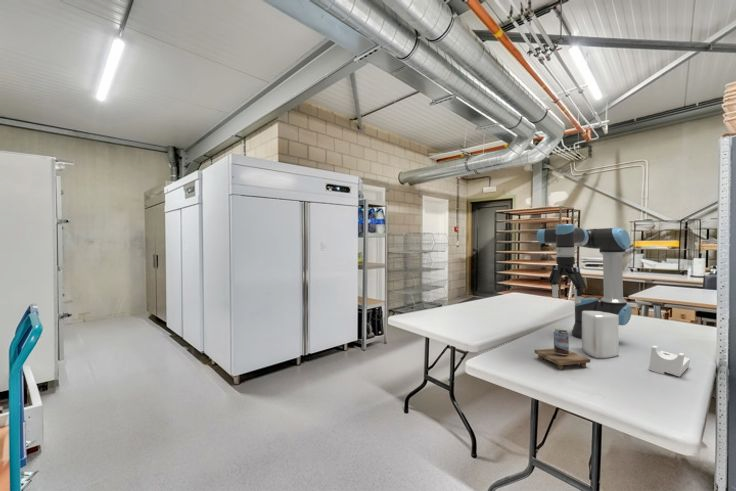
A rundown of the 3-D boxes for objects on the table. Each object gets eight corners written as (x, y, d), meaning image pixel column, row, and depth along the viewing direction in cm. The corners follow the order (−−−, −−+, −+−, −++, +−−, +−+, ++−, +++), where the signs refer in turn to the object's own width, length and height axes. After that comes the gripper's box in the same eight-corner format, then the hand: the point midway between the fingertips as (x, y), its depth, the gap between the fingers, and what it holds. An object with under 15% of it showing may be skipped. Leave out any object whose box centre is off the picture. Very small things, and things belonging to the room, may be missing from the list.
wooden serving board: (534, 357, 156) (534, 349, 156) (562, 355, 159) (562, 347, 159) (559, 370, 141) (559, 362, 141) (590, 367, 144) (590, 359, 143)
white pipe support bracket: (679, 379, 132) (682, 355, 131) (648, 369, 140) (651, 347, 139) (688, 369, 143) (691, 346, 142) (659, 360, 151) (662, 339, 150)
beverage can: (556, 356, 147) (556, 330, 147) (551, 351, 154) (551, 326, 154) (571, 357, 146) (571, 331, 146) (565, 352, 153) (565, 327, 153)
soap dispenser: (618, 354, 160) (618, 311, 159) (615, 362, 149) (615, 316, 149) (583, 348, 170) (583, 307, 170) (577, 355, 160) (577, 311, 159)
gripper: (539, 255, 163) (540, 296, 163) (580, 258, 138) (581, 306, 139) (552, 254, 164) (553, 295, 165) (595, 257, 139) (595, 304, 140)
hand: (566, 300), depth 152 cm, fingers open, 13 cm apart
